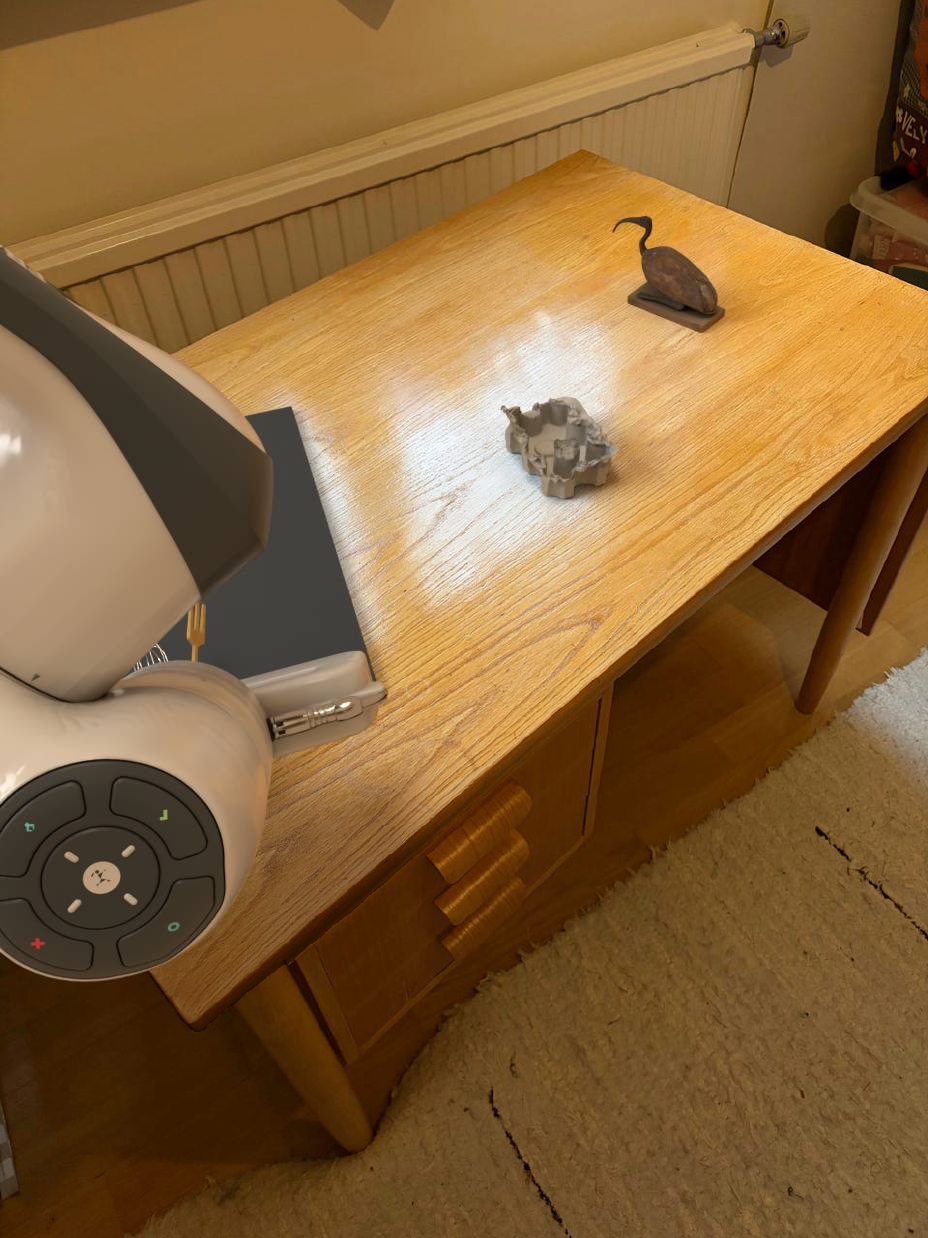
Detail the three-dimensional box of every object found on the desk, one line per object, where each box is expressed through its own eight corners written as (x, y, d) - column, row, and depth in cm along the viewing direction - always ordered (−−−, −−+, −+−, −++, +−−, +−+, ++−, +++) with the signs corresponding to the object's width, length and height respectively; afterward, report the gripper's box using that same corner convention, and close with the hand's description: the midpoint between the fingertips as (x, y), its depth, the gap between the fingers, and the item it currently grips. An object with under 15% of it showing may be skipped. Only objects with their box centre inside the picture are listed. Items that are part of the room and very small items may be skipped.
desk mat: (103, 767, 62) (100, 762, 61) (86, 455, 84) (84, 450, 83) (379, 691, 65) (378, 686, 64) (292, 410, 87) (291, 405, 87)
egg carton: (496, 438, 83) (495, 402, 80) (566, 417, 85) (568, 381, 82) (546, 507, 77) (547, 471, 74) (621, 482, 79) (626, 446, 75)
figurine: (595, 290, 99) (602, 213, 93) (619, 274, 101) (626, 198, 95) (702, 333, 93) (717, 254, 86) (724, 315, 95) (741, 237, 88)
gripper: (376, 635, 42) (357, 617, 56) (-72, 753, 39) (24, 704, 52) (408, 759, 43) (381, 712, 56) (-30, 886, 39) (54, 803, 53)
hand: (206, 709), depth 54 cm, fingers closed
